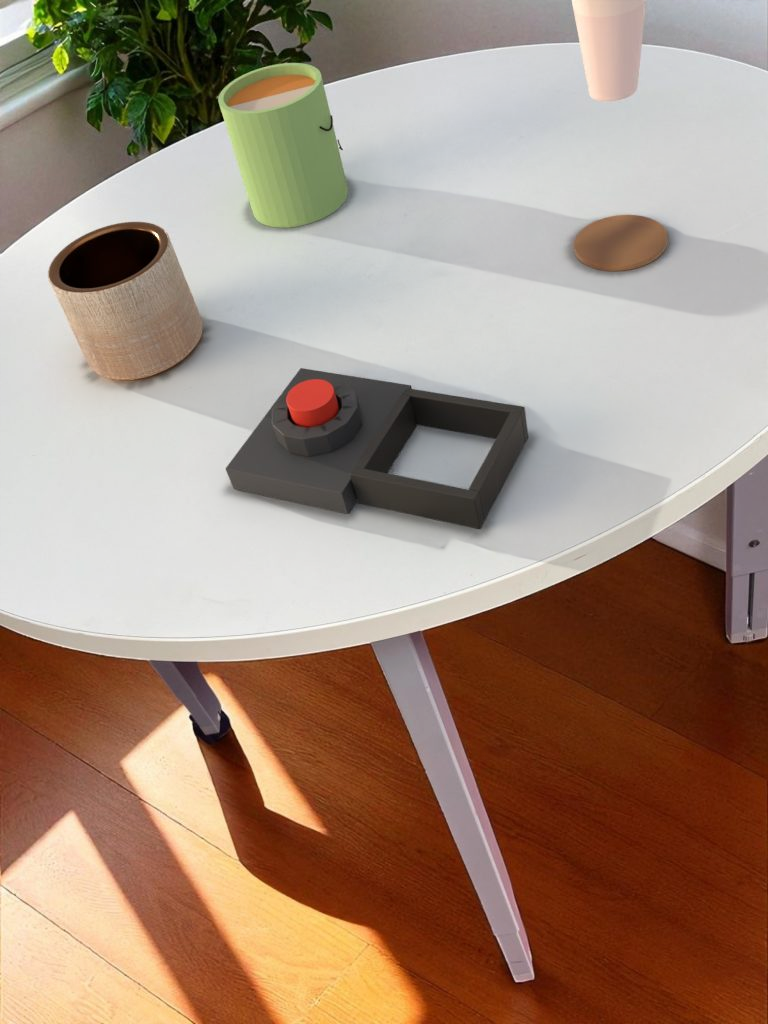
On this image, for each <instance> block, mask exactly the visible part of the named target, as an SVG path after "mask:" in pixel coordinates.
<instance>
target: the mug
mask: <svg viewBox="0 0 768 1024" xmlns="http://www.w3.org/2000/svg"><path fill="white" fill-rule="evenodd" d="M217 102H218V105H219V109H220V112H221V114H222V115H221V116H222V117H223V121H224V124H225V127H226V130H227V134H228V137H229V140H230V144H231V147H232V150H233V154H234V156H235V160H236V162H237V167H238V169H239V173H240V175H241V178H242V183H243V186H244V189H245V192H246V196H247V199H248V202H249V203H250V204H249V205H250V208H251V211H252V215H253V216H254V219H256V221H257V222H259V223H260V224H262V225H264V226H267V227H272V228H295V227H301V226H305V225H310V224H312V223H315V222H317V221H320V220H322V219H324V218H326V217H328V216H330V215H332V214H333V213H334V212H337V210H339V208H340V207H342V205H344V204H345V202H346V201H347V198H348V197H349V186H348V183H347V182H348V181H347V178H346V174H345V170H344V165H343V161H342V157H341V153H340V151H343V148H342V147H343V146H341V143H340V139H337V135H336V131H335V127H334V119H333V115H331V110H330V106H329V101H328V97H327V93H326V89H325V84H324V82H323V76H322V73H321V71H320V69H318V68H317V67H315V66H314V65H311V64H307V63H302V62H301V63H300V62H285V63H277V64H272V65H266V66H265V67H260V68H257V69H254V70H251V71H249V72H247V73H244V74H242V75H240V76H239V77H237V78H235V79H233V80H232V81H230V82H229V83H228V84H227V85H225V86H224V87H223V89H222V90H221V91H220V93H219V95H218V99H217Z"/></svg>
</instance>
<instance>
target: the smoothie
mask: <svg viewBox="0 0 768 1024" xmlns="http://www.w3.org/2000/svg"><path fill="white" fill-rule="evenodd" d="M571 2H572V3H571V4H572V10H573V15H574V19H575V25H576V30H577V35H578V41H579V46H580V52H581V57H582V63H583V68H584V73H585V78H586V84H587V89H588V94H589V96H590V97H591V99H593V100H594V101H597V102H598V101H599V102H617V101H621V100H625V99H627V98H629V97H631V96H633V95H634V94H635V93H636V92H637V90H638V87H639V76H640V66H641V56H642V46H643V37H644V28H645V27H644V26H645V17H646V7H647V0H571Z"/></svg>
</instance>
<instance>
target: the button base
mask: <svg viewBox="0 0 768 1024" xmlns="http://www.w3.org/2000/svg"><path fill="white" fill-rule="evenodd" d="M312 379H321V380H325V381H327V382H329V383H330V384H331V385H332V386H333V388H334V392H335V395H336V398H337V402H338V405H339V411H338V414H337V415H336V417H335V418H333V419H332V420H330V421H328V422H327V423H325V424H323V425H320V426H315V427H310V428H306V427H300V426H297V425H296V424H295V423H294V422H293V420H292V417H291V414H290V411H289V408H288V405H287V401H286V398H287V395H288V393H289V391H290V390H291V389H292V388H293V387H294V386H296V385H297V384H299V383H301V382H304V381H307V380H312ZM405 388H409V389H413V387H412V385H410V384H405V383H400V382H399V383H398V382H393V381H387V380H386V381H385V380H381V379H373V378H366V377H361V376H360V377H359V376H355V375H348V374H341V373H335V372H328V371H323V370H315V369H311V368H303V367H300V368H299V370H298V371H297V372H296V374H295V375H294V376H293V377H292V379H291V380H290V382H289V383H288V384H287V386H286V387H285V389H284V390H283V391H282V392H281V394H280V395H279V397H278V398H277V399H276V400H275V402H274V403H273V404H272V405H271V407H270V409H269V410H268V411H267V412H266V413H265V414H264V416H263V417H262V419H261V420H260V422H259V423H258V424H257V425H256V427H255V429H253V431H252V432H251V434H250V435H249V436H248V438H247V439H246V440H245V442H244V443H243V445H242V446H241V447H240V448H239V449H238V451H237V453H236V454H235V455H234V456H233V458H232V459H231V460H230V462H228V464H227V465H226V467H225V471H226V473H227V474H226V475H227V476H228V478H229V481H230V484H231V487H232V489H233V490H236V491H241V492H245V493H250V494H255V495H260V496H264V497H268V498H273V499H277V500H282V501H287V502H290V503H291V502H292V503H295V504H301V505H305V506H309V507H314V508H317V509H318V508H319V509H323V510H327V511H332V512H336V513H340V514H345V515H348V514H349V513H350V512H351V511H352V509H353V507H354V506H355V504H356V503H357V502H358V500H357V497H356V493H355V490H354V487H353V483H352V480H351V477H350V473H351V471H352V470H353V468H354V467H355V465H356V464H357V462H358V461H359V459H360V458H361V456H362V454H363V453H364V451H365V450H366V448H367V447H368V445H369V444H370V442H371V441H372V439H373V438H374V436H375V434H376V433H377V431H378V430H379V428H380V427H381V425H382V424H383V422H384V421H385V419H386V417H387V416H388V414H389V413H390V411H391V410H392V408H393V407H394V405H395V404H396V402H397V401H398V399H399V397H400V396H401V395H402V393H403V391H404V390H405Z"/></svg>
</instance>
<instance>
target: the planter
mask: <svg viewBox="0 0 768 1024" xmlns="http://www.w3.org/2000/svg"><path fill="white" fill-rule="evenodd" d="M176 253H177V252H176V251H175V248H174V245H173V243H172V241H171V238H170V235H169V233H168V232H167V231H166V230H165V229H164V228H163V227H161V226H160V225H158V224H155V223H152V222H148V221H126V222H125V221H124V222H118V223H113V224H109V225H106V226H102V227H100V228H97V229H94V230H93V231H89V232H87V233H85V234H83V235H82V236H80V237H78V238H76V239H74V240H73V241H71V242H70V243H68V244H67V245H65V247H63V248H62V249H61V250H59V252H58V253H57V254H56V256H55V257H54V258H53V259H52V261H51V263H50V264H49V267H48V270H47V279H48V282H49V284H50V286H51V288H52V290H53V292H54V294H55V297H56V299H57V301H58V303H59V305H60V307H61V309H62V311H63V313H64V316H65V318H66V320H67V322H68V324H69V326H70V328H71V331H72V333H73V335H74V337H75V340H76V341H77V344H78V346H79V348H80V350H81V352H82V355H83V357H84V359H85V361H86V363H87V364H88V366H89V367H90V368H91V370H93V372H95V373H96V374H97V375H99V376H101V377H104V378H106V379H111V380H118V381H131V380H132V381H133V380H139V379H144V378H149V377H153V376H155V375H158V374H161V373H163V372H166V371H168V370H170V369H171V368H173V367H174V366H176V365H177V364H179V363H181V362H182V361H183V360H184V359H185V358H187V356H188V355H190V353H191V352H192V351H193V350H194V349H195V347H197V345H198V343H199V342H200V340H201V338H202V335H203V329H204V325H203V320H202V316H201V314H200V311H199V309H198V306H197V304H196V301H195V299H194V296H193V293H192V291H191V288H190V286H189V283H188V281H187V279H186V276H185V274H184V271H183V269H182V266H181V264H180V261H179V259H178V256H177V254H176Z"/></svg>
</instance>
